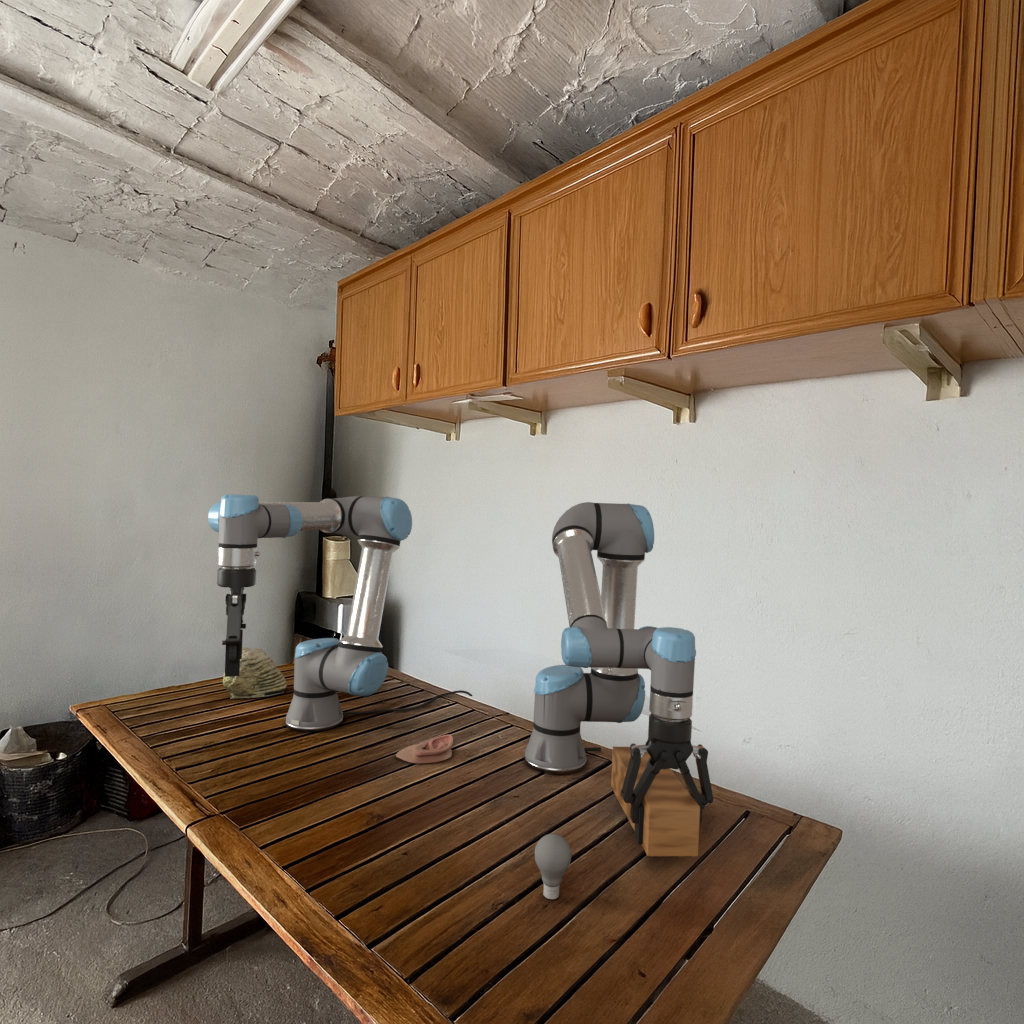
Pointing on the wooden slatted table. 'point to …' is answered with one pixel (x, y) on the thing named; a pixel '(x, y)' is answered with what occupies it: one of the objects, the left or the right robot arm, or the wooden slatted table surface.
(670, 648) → the right robot arm
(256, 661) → the fossil
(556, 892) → the light bulb
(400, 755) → the anatomical model
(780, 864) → the wooden slatted table surface
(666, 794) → the box
